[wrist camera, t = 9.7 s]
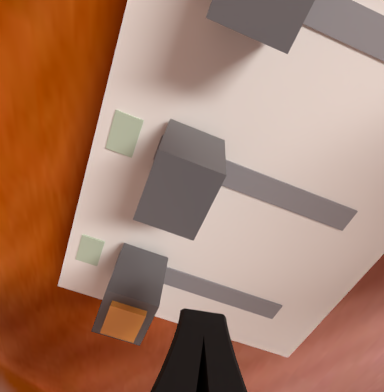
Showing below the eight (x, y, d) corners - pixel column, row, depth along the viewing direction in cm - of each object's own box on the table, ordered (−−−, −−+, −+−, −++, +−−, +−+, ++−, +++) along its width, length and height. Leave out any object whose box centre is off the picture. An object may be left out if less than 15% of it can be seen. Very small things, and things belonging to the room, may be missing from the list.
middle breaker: (224, 140, 14) (226, 175, 11) (197, 197, 15) (193, 240, 12) (170, 118, 13) (158, 149, 11) (148, 178, 15) (132, 219, 12)
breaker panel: (558, 4, 13) (616, 5, 11) (282, 330, 23) (288, 359, 21) (189, -194, 11) (183, -233, 9) (70, 262, 21) (56, 287, 19)
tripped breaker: (168, 257, 17) (158, 312, 14) (151, 294, 19) (138, 351, 16) (124, 242, 17) (104, 295, 14) (110, 281, 18) (89, 336, 15)
